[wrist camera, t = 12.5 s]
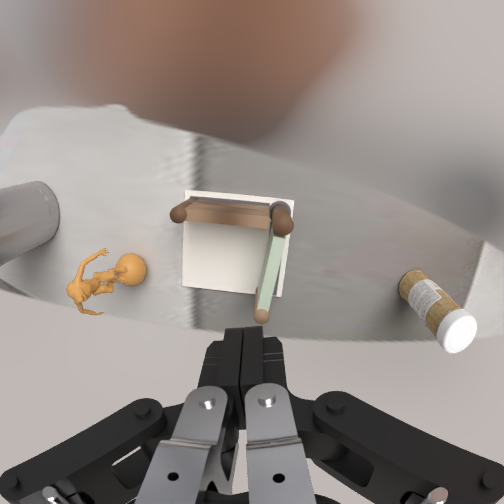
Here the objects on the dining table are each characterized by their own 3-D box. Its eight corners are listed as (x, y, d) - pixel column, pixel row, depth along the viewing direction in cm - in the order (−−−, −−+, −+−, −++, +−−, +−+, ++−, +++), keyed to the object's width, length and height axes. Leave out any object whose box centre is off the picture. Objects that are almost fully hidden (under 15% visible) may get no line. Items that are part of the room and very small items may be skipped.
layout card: (182, 284, 38) (182, 285, 38) (185, 190, 34) (185, 190, 34) (280, 295, 38) (281, 296, 38) (293, 200, 34) (294, 200, 34)
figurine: (146, 296, 39) (108, 346, 27) (107, 282, 39) (61, 325, 27) (155, 238, 36) (112, 275, 25) (114, 226, 36) (60, 256, 25)
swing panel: (270, 222, 34) (271, 236, 28) (284, 225, 34) (288, 240, 29) (254, 295, 37) (252, 322, 31) (267, 298, 37) (267, 324, 31)
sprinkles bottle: (430, 284, 37) (482, 333, 24) (407, 305, 38) (451, 362, 25) (416, 261, 36) (471, 308, 23) (391, 284, 37) (437, 339, 24)
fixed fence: (186, 211, 35) (169, 224, 28) (187, 194, 34) (170, 204, 28) (287, 221, 35) (292, 237, 28) (289, 204, 34) (295, 216, 28)
